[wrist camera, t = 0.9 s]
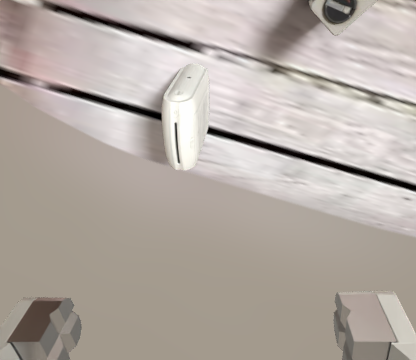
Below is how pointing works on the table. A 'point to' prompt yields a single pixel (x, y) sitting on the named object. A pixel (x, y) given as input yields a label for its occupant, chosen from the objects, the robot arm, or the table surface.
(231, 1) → the table surface
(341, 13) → the camera
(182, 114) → the photo printer
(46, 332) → the robot arm
